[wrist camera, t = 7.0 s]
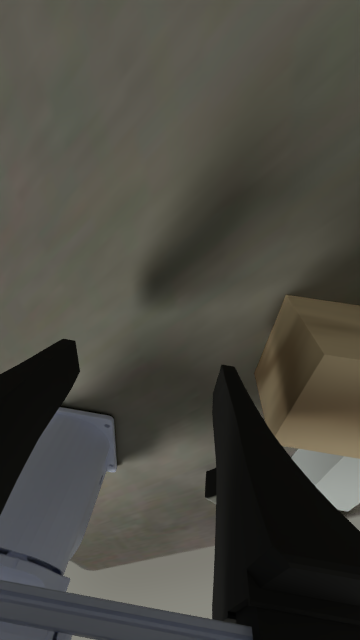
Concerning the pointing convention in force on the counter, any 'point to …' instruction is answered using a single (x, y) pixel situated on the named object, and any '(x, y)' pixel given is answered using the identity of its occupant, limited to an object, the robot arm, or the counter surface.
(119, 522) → the counter surface
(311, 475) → the board
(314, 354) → the block
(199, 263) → the counter surface
